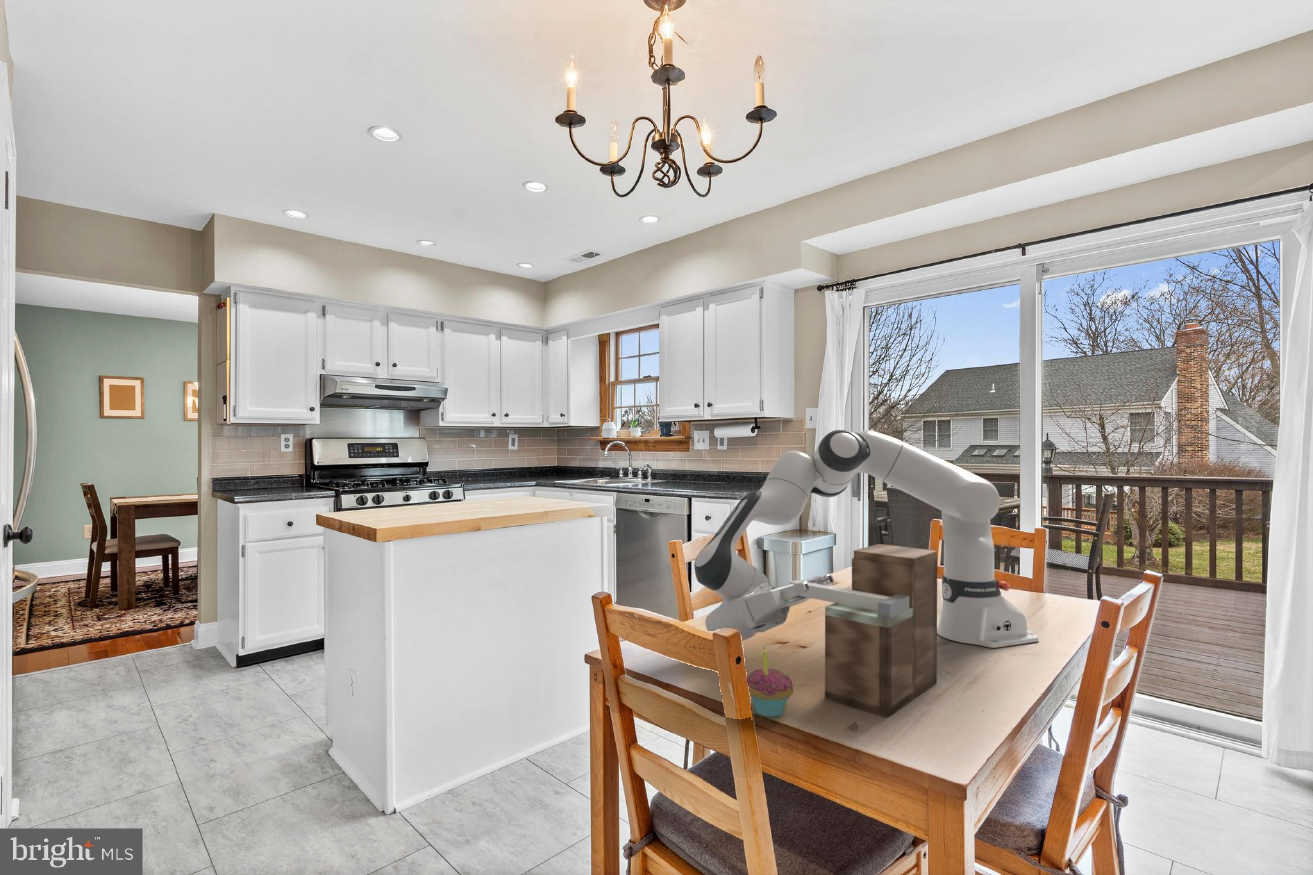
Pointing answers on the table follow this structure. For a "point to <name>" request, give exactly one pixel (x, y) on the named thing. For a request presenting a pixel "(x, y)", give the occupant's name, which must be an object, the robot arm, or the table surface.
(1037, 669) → the table surface
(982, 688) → the table surface
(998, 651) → the table surface
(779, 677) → the cupcake
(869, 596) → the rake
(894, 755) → the table surface
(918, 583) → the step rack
